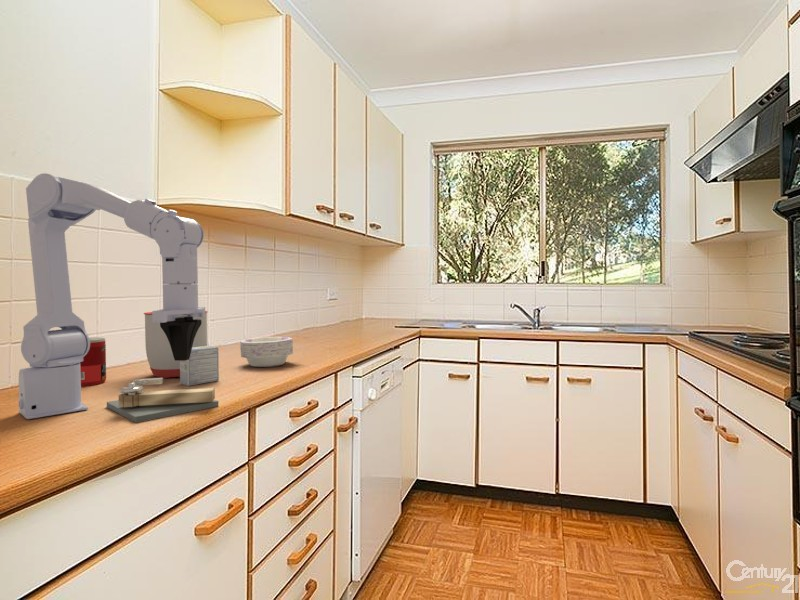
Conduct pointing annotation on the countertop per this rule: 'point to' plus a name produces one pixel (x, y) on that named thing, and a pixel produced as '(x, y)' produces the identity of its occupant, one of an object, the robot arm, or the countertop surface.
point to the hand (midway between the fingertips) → (181, 360)
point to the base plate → (158, 409)
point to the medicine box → (200, 366)
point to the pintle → (131, 390)
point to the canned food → (94, 363)
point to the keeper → (147, 382)
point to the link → (167, 397)
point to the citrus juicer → (167, 347)
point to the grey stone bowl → (266, 351)
